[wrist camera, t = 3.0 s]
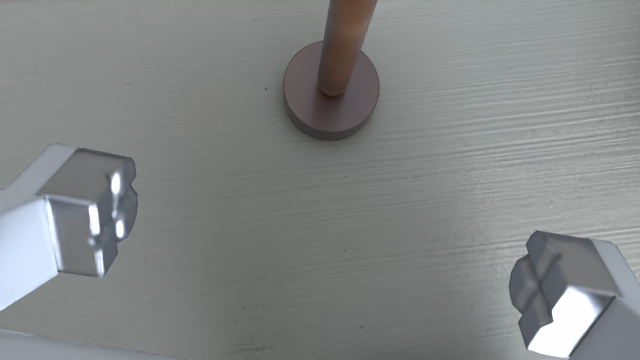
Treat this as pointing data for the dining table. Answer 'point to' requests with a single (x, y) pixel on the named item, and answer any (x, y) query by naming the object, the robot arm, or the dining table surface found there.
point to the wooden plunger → (334, 76)
